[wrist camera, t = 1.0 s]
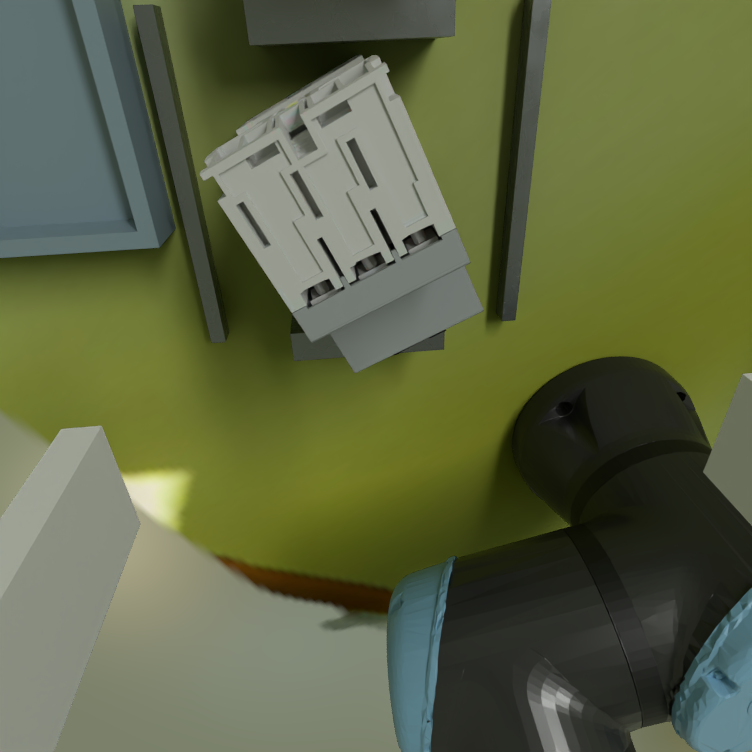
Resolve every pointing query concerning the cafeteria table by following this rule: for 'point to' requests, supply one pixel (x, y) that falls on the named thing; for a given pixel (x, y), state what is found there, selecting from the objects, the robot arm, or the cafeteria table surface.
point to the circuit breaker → (347, 215)
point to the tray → (75, 134)
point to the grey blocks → (344, 25)
